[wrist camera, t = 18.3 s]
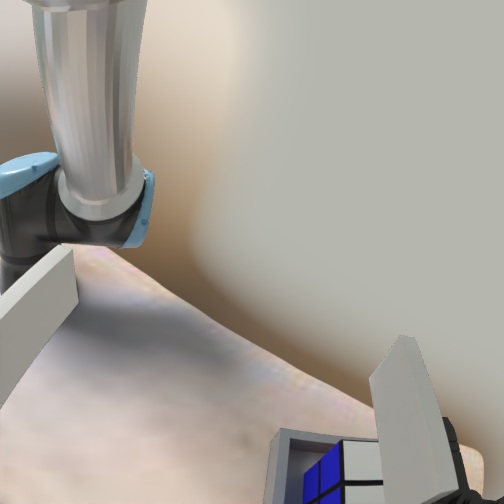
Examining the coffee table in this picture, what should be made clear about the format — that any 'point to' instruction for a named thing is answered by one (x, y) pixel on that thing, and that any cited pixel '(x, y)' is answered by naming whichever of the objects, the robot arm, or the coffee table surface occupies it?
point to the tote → (295, 463)
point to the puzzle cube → (346, 475)
